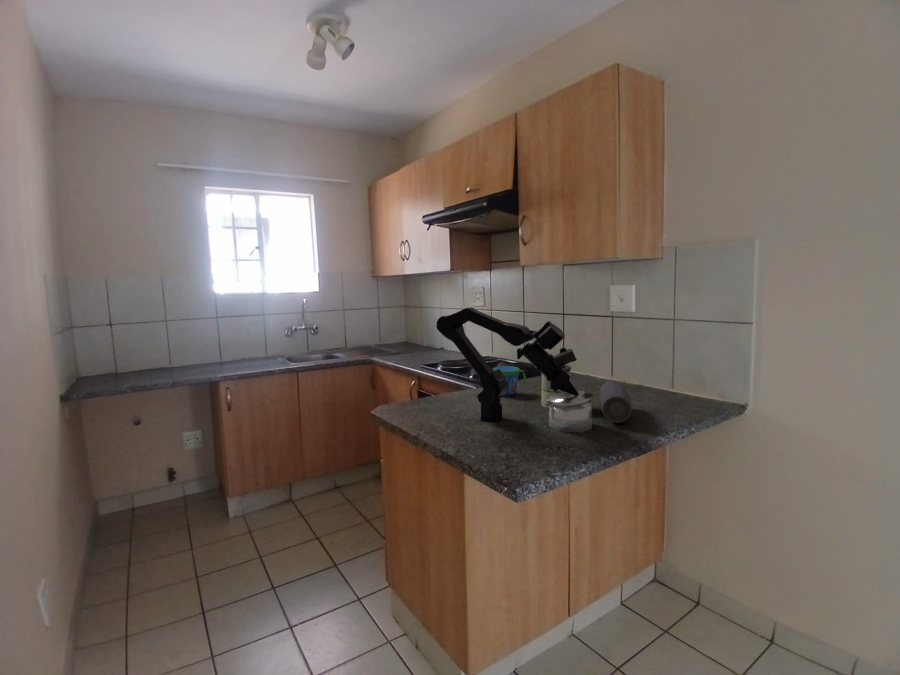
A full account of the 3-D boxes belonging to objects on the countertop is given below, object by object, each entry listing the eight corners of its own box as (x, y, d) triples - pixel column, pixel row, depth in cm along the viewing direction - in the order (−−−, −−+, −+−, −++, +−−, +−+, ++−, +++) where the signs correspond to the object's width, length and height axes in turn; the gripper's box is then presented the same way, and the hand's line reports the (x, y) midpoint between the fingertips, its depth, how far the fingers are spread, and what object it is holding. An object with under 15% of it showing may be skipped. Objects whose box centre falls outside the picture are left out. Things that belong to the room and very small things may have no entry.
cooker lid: (547, 409, 129) (546, 401, 129) (545, 397, 142) (544, 390, 141) (595, 403, 127) (594, 395, 126) (588, 392, 139) (587, 385, 139)
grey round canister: (550, 431, 130) (550, 409, 129) (547, 418, 142) (547, 398, 141) (594, 433, 128) (595, 410, 127) (588, 420, 140) (588, 399, 139)
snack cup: (487, 397, 171) (486, 371, 169) (486, 390, 181) (485, 366, 180) (527, 396, 170) (527, 371, 169) (524, 390, 180) (524, 365, 179)
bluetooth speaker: (633, 428, 132) (634, 395, 131) (600, 425, 135) (601, 393, 134) (626, 407, 154) (627, 379, 153) (598, 405, 157) (599, 378, 155)
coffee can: (539, 401, 164) (539, 363, 162) (567, 401, 163) (568, 363, 161) (542, 409, 153) (542, 369, 152) (572, 409, 152) (573, 369, 151)
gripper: (562, 344, 123) (603, 383, 123) (557, 336, 141) (592, 370, 141) (534, 371, 125) (573, 410, 125) (532, 360, 144) (567, 394, 143)
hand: (577, 395), depth 133 cm, fingers closed, pressing on cooker lid
